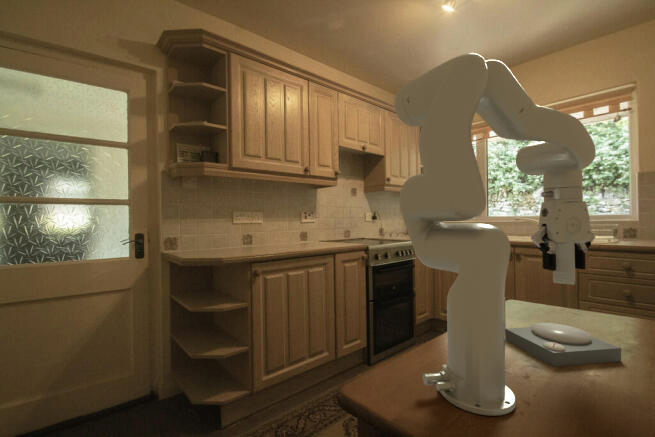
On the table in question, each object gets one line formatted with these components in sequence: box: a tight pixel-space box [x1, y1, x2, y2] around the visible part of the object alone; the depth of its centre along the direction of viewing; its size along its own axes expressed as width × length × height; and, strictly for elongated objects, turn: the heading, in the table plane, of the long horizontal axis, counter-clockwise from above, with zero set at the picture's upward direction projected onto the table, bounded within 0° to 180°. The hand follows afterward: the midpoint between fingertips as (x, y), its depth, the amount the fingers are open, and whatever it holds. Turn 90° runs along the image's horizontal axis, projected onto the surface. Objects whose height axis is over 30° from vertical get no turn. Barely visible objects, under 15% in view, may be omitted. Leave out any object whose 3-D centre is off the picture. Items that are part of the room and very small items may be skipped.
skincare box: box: [552, 233, 576, 286], centre depth 74 cm, size 6×4×12 cm
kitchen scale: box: [505, 322, 622, 368], centre depth 75 cm, size 17×15×4 cm
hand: (563, 268), depth 74 cm, fingers closed on skincare box, 7 cm apart
